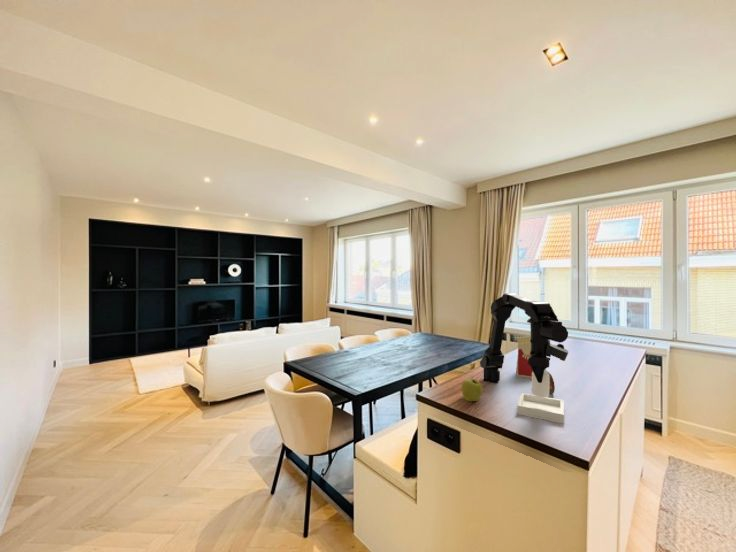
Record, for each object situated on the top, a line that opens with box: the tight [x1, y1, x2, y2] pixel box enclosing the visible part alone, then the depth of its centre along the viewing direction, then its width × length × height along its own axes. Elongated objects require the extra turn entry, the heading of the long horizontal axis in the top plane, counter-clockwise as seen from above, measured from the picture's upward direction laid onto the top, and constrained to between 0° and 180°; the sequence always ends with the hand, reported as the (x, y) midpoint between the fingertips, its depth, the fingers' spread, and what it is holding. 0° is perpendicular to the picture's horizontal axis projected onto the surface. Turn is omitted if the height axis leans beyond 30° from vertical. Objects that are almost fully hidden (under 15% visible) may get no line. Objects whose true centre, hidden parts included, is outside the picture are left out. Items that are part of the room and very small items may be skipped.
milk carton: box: [515, 335, 533, 379], centre depth 152 cm, size 9×9×20 cm
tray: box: [516, 392, 565, 424], centre depth 110 cm, size 14×14×3 cm
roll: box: [531, 368, 550, 398], centre depth 108 cm, size 6×12×6 cm
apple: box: [461, 375, 483, 402], centre depth 121 cm, size 8×8×10 cm
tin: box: [547, 370, 556, 394], centre depth 131 cm, size 15×3×8 cm, turn 168°
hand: (540, 380), depth 108 cm, fingers closed on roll, 6 cm apart
